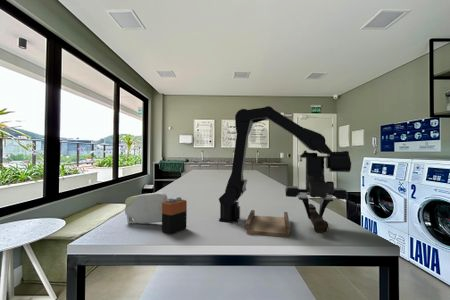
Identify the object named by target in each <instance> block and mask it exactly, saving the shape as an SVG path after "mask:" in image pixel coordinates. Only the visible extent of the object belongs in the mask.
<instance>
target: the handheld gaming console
mask: <svg viewBox="0 0 450 300" xmlns="http://www.w3.org/2000/svg"><path fill="white" fill-rule="evenodd" d="M167 199H168V195H167V193H165V192H152V193H150V192H149V193H142V194H139V195H134V196H133V195H132V196H128V197H127V198H126V199H125V202H124V204H125V207H124V213H125V215H126V221H127V224H128V223H132V224H142V225H144V224H155V223H157V224H158V223H162V202H165V201H167Z"/></svg>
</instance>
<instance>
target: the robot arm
mask: <svg viewBox="0 0 450 300" xmlns="http://www.w3.org/2000/svg"><path fill="white" fill-rule="evenodd" d="M234 119H235V121H234V123H235V124H234V125H235V131H236V136H235V137H236V138H235V144H234V145H235V147H234V152H233V159H232V160H233V161H232V168H231V173H230V176H229V178H228V181H227V183H226V187H225V190H224V192H223V194H222V195H220V196H219V198H218V202H219V203H220V204H219V207H220V208H219V209H220V210H219V212H220V215H219V217H220V218H219V219H218V222H228V223H238V221H239V220H240V218H241V206H240V202H239V199H240V198H241V197H242V196H243V195H244V193H245V192H246V191H247V189H246V187H247V182H248V179H244V178H245V177H244V170H245V162H246V154H247V148H248V147H247V146H248V140H249V135H250V133H251V132H252V131H251V130H252V128H253V125H254V124H255V123H260V122H262V121H263V122H264V121H266V120H268V121H270V122H271V123H273V124H275V125H276V126H278V127H279V128H281V129H283V130H284V131H286V132H288V133H289V134H291V136H294V137H295V138H296V139H297V140H298V141H299V142H300V143H301V144H302V145H303V146H304V147H305V148H306V150H304V151H303V152H302V153H301V154H299V157H300V158H305V188H298V186H297V185H296V186H295V185H294V186H293V185H287V186H285V190H284V191H285V192H284V193H285V196H286V197H288V198H289V197H291V198H298V200H300V201H302V203H303V206H304V209H305V213H306V215H307V218H308V220H310V210H309V204H310V203H309V202H310V201H309V198H308V196H310V197H311V198H313V199H314V198H319V200H320V201H319V209H318V214H319V215H320V216H322V217H323V215H324V213H325V211H326V208H327V206H328V205H329V204H330V202H334V199H333V198H334V197H335V199H336V200H344V201H345V200H348V199H349V193H348V191H347V190H346V189H344V188H342V187H335V182H334V181H326V180H325V169H326V170H327V169H328V171H329V172H330V173H331V172H332V173H333V172H334V173H350V172H351V169H352V161H351V157H350V153H349V150H342V151H332V150H331V148H330V147H329V146H328V145H327V144H326V138H325V136H324V135H323V134H321V133H319V132H317V131H314V130H312V129H310V128H306V127H303V126H301V125H299V124H298V123H296V122H294V120H291V118H288V117H286V116H285V115H283V114H281V113H280V112H278V111H277V110H276V109H274V108H273V107H272V106H264V107H260V108H259V107H257V108H251V109H246V108H241V109H239V110H238V111H237V112H236V113H235V115H234ZM307 149H308V150H309V151H312V152H308V151H307ZM318 153H320V154H321V155H318ZM323 154H324V155H323Z"/></svg>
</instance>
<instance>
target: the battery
mask: <svg viewBox="0 0 450 300" xmlns="http://www.w3.org/2000/svg"><path fill="white" fill-rule="evenodd" d="M187 205H188V203H187V199H182V197H180V196H179V197H176V198H171V197H169V198H167V201H165V202H162V222H161V232H163V233H166V234H168V235H173V234H175V233H177V232H180V231H183V230H186V229H187V222H188V221H187V218H188V217H187V211H188V210H187Z"/></svg>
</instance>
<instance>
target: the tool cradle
mask: <svg viewBox="0 0 450 300" xmlns="http://www.w3.org/2000/svg"><path fill="white" fill-rule="evenodd" d="M255 212H256V211H255V210H254V209H251V210H250V212H249V214H248V216H247V218H246V221H245V223H244V231H246V234H248V235H259V236H269V237H283V238H289V235H290V234H291V225H290V224H291V223H290V220H289V213H288V211H283V216H267V215H266V216H265V215H256V213H255Z"/></svg>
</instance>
